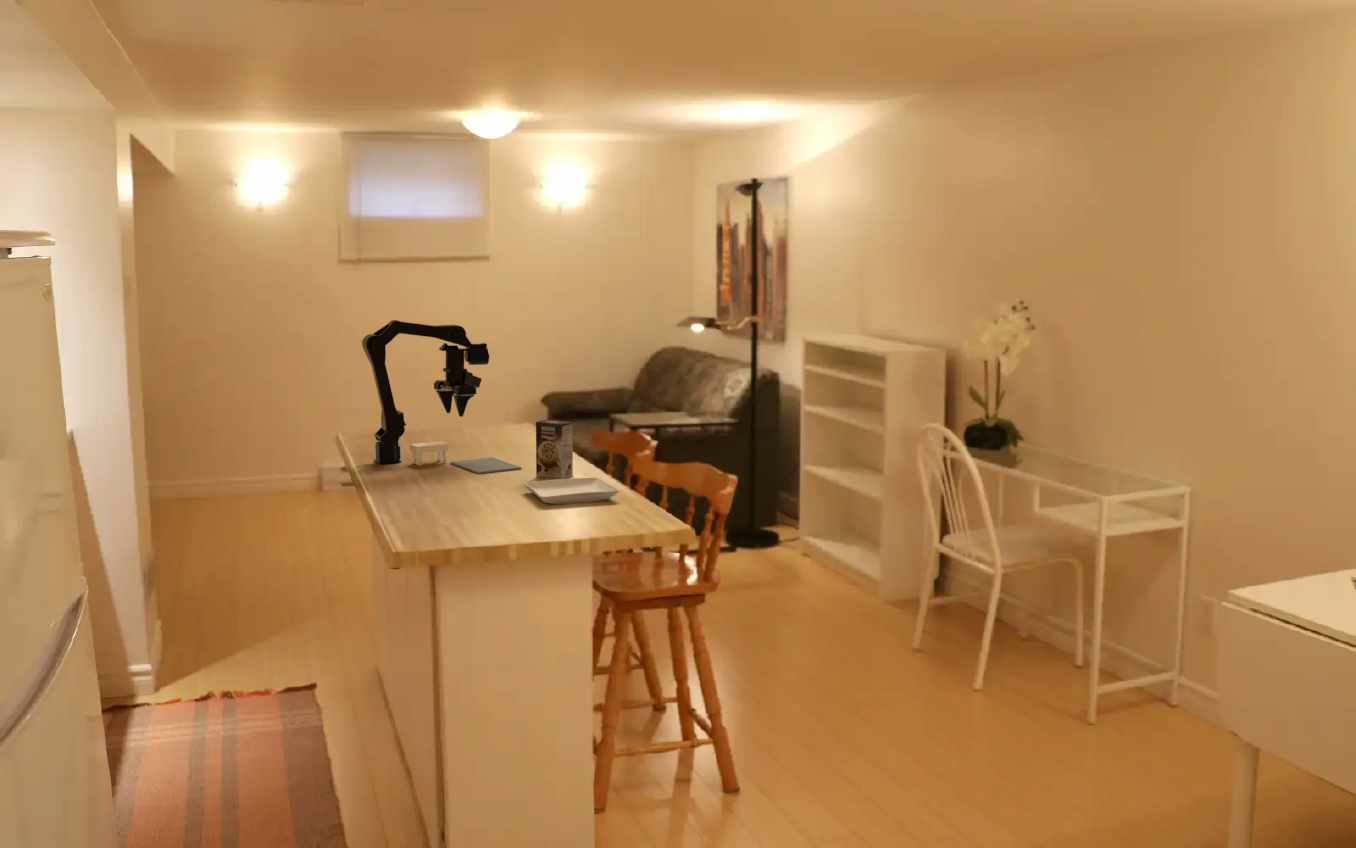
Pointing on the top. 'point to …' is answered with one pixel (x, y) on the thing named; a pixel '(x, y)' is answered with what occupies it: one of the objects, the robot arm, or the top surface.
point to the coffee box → (554, 449)
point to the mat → (485, 465)
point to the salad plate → (571, 490)
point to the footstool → (429, 450)
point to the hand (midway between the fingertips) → (454, 414)
